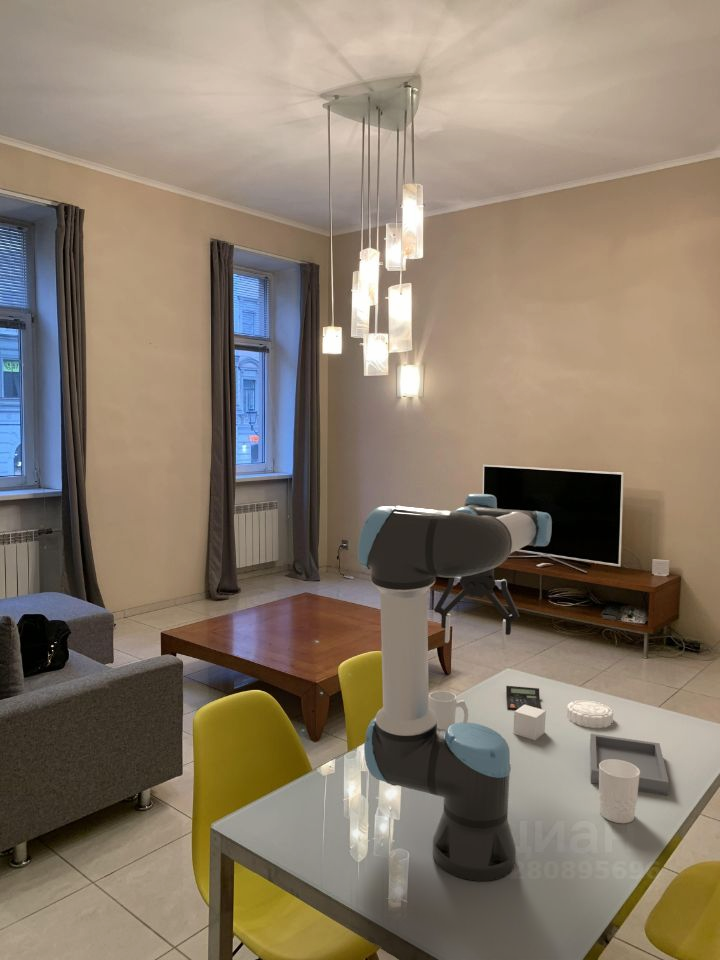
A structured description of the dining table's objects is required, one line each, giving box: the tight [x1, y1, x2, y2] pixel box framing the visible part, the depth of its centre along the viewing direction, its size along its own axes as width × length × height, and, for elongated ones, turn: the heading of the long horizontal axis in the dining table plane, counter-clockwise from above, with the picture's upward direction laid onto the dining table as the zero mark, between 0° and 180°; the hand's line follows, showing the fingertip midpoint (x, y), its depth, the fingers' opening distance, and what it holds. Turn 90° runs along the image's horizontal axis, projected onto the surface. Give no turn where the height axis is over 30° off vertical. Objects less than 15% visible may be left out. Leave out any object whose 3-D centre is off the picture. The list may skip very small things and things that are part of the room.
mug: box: [428, 690, 469, 730], centre depth 180 cm, size 10×7×12 cm, turn 94°
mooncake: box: [566, 699, 614, 729], centre depth 197 cm, size 12×12×4 cm
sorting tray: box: [589, 733, 670, 796], centre depth 169 cm, size 20×16×3 cm
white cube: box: [512, 705, 547, 741], centre depth 187 cm, size 6×6×6 cm
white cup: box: [598, 759, 640, 824], centre depth 149 cm, size 8×8×10 cm
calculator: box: [505, 685, 542, 711], centre depth 207 cm, size 9×12×3 cm
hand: (475, 644), depth 176 cm, fingers open, 13 cm apart
